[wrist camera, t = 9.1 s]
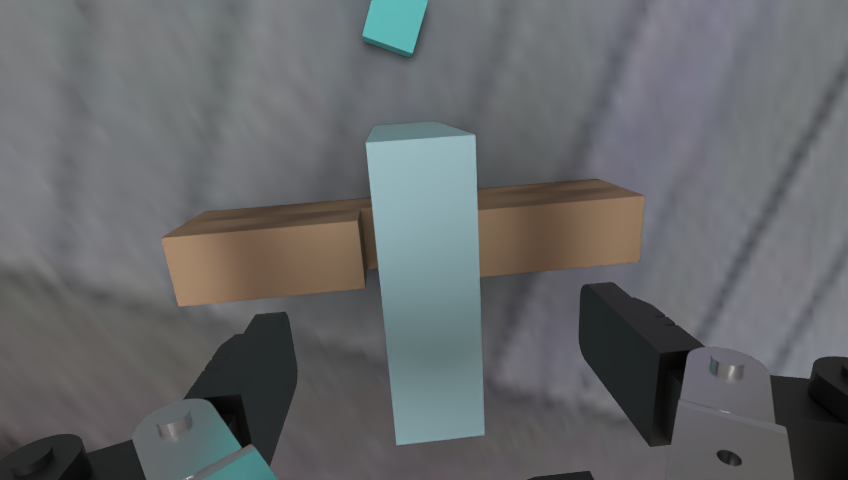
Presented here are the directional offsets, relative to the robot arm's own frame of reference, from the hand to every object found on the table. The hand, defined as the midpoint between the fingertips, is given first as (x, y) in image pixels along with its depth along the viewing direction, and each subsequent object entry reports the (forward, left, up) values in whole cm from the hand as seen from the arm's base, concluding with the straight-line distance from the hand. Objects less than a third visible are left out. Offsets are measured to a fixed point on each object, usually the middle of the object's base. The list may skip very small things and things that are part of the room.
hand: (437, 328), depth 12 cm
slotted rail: (0, 0, -12) cm, 12 cm away
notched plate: (0, 0, -12) cm, 12 cm away
